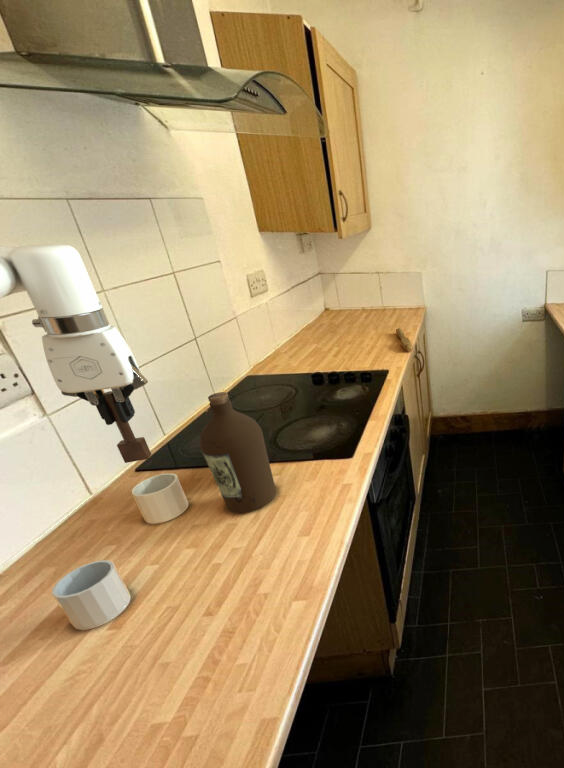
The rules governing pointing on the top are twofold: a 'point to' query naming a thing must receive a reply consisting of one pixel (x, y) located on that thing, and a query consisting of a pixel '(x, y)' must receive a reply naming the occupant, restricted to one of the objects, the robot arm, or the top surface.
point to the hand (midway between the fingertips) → (120, 419)
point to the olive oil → (237, 457)
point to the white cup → (160, 498)
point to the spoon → (127, 436)
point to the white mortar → (92, 594)
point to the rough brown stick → (404, 340)
